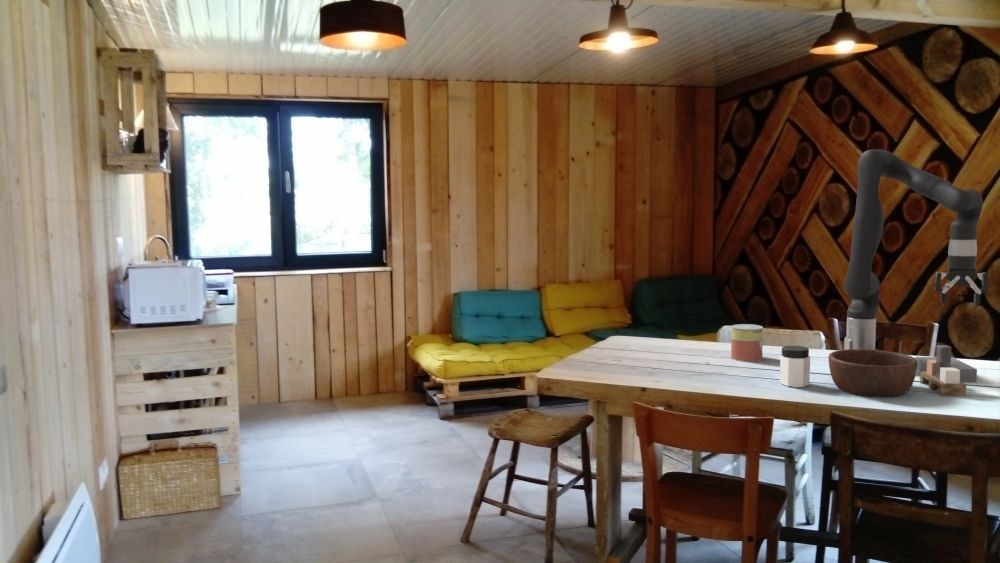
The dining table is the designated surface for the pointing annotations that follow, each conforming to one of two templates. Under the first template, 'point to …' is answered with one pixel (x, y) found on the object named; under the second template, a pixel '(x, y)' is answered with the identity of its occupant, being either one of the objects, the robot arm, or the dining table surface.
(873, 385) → the wooden bowl
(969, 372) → the dock
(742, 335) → the canned food
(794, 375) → the jar
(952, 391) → the pallet
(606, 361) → the dining table surface
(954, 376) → the block
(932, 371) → the cargo terracotta
